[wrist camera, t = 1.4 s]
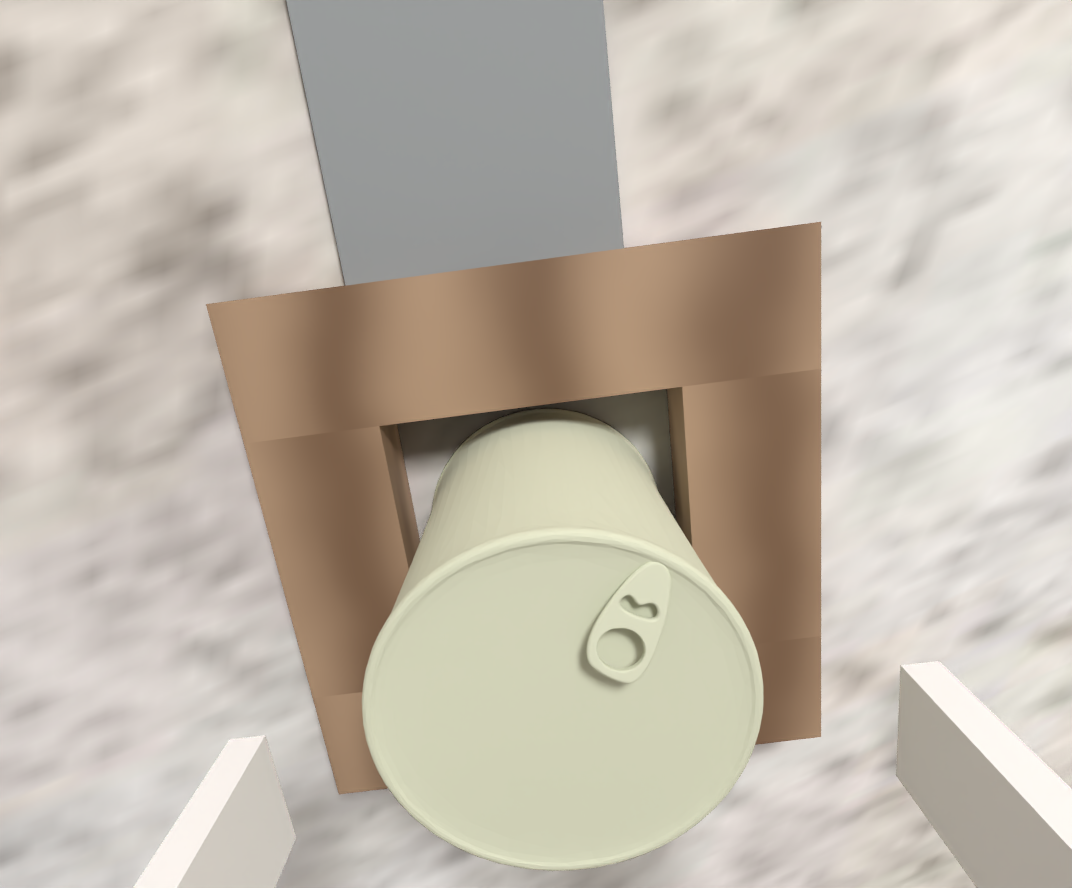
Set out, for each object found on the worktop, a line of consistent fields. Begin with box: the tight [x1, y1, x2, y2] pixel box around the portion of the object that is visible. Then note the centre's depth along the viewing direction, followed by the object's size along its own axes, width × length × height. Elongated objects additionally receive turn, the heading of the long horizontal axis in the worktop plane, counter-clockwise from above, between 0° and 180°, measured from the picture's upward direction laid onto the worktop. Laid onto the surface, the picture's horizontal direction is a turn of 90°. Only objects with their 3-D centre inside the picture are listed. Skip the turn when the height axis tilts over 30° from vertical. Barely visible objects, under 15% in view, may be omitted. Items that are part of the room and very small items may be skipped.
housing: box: [206, 222, 821, 794], centre depth 24 cm, size 20×20×2 cm
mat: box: [286, 0, 624, 286], centre depth 20 cm, size 10×10×1 cm
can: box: [362, 409, 763, 871], centre depth 19 cm, size 9×9×12 cm
